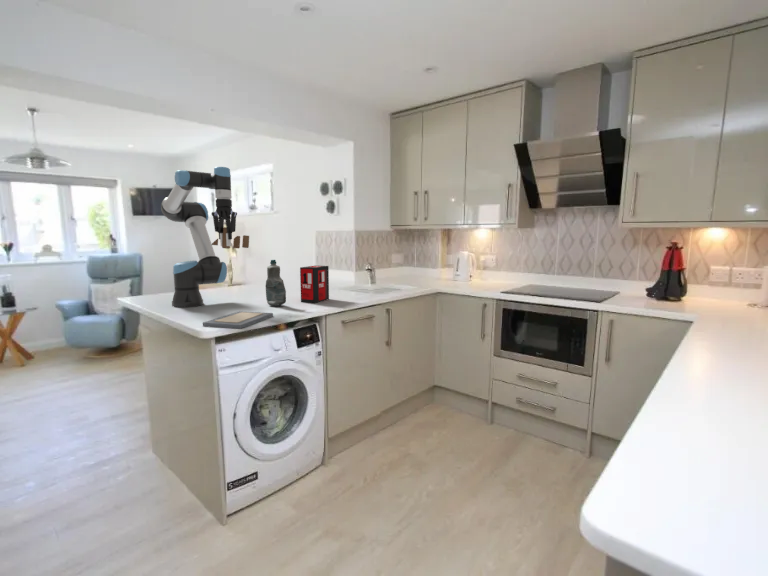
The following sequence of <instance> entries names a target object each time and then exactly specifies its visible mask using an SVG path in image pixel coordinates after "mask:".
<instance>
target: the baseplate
mask: <svg viewBox="0 0 768 576" xmlns="http://www.w3.org/2000/svg"><path fill="white" fill-rule="evenodd" d="M272 317H274V313H273V312H261V311H260V312H259V311H243V310H242V311H241V310H239V311H236V312H233V313H232V312H231V313H229V314H226V315H223V316H220V317H216V318H213V319H209V320H206V321H204V322H202V327H208V326H210V327H209V328H211V327H212V328H213V327H214V328H225V329H227V328H228V329H240V330H241V329H245V328H246V327H248V326H251V325H254V324H257V323H259V322H261V321H264V320H267V319H269V318H272Z"/></svg>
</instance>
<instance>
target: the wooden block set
mask: <svg viewBox="0 0 768 576" xmlns="http://www.w3.org/2000/svg"><path fill="white" fill-rule="evenodd" d="M226 233H227V227H226V226H225V227H223V240H222V246H221V248H222V249H231V246H227V244H226ZM211 244H212V246H219V238H217V239H215V240H214V241H213V242H211ZM240 245H241V236H240V235H236V236H235V237H234V238H233V245H232V248H233V249H240V248H241V247H242V248H244V249H249V247H250V246H249V245H250V235H247V234H245V235H244V234H243V235H242V246H240Z"/></svg>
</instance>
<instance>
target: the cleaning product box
mask: <svg viewBox="0 0 768 576" xmlns="http://www.w3.org/2000/svg"><path fill="white" fill-rule="evenodd" d="M329 270H330V269H329V265H310V266H302V267H300V268H299V278H300V303H306V304H317V303H321V302H325V301H327V299H328V300H329V299H330V284H329V283H330V282H329V281H330V279H329V276H330V275H329ZM324 300H325V301H324Z"/></svg>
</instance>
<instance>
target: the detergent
mask: <svg viewBox="0 0 768 576" xmlns="http://www.w3.org/2000/svg"><path fill="white" fill-rule="evenodd" d="M269 264H270V265H269V266H267V267H266V272H267V275H266V276H267V279H266V281H265V296H266V302H267V305H269V306H278V307H280V306H282V305H284V304H286V302H287V297H286V296H287V291H286V286H285V283H284V279H282V277H281V267H280V265H277V261H276V259H270V263H269Z"/></svg>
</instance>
